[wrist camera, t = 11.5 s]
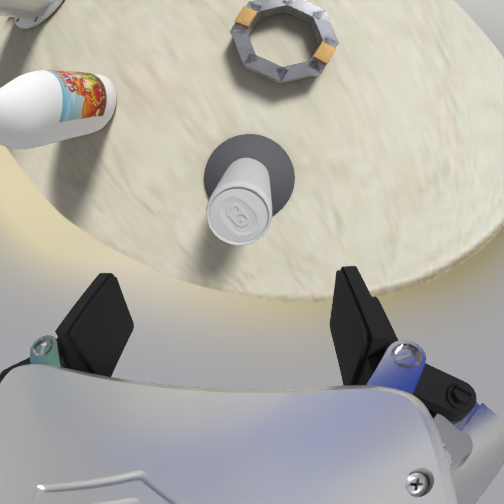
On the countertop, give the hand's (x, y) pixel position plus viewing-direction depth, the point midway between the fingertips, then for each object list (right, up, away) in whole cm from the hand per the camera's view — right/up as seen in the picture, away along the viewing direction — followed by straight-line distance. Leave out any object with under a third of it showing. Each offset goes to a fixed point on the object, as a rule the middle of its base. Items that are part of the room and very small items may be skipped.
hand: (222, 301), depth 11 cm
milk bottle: (-18, +20, +15) cm, 31 cm away
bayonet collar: (+5, +24, +12) cm, 28 cm away
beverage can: (+1, +10, +19) cm, 22 cm away
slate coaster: (+1, +10, +20) cm, 22 cm away
